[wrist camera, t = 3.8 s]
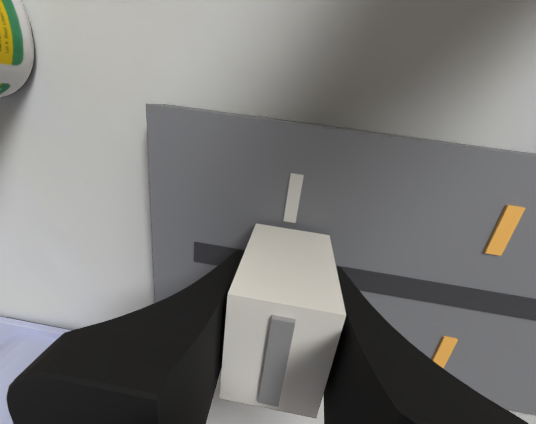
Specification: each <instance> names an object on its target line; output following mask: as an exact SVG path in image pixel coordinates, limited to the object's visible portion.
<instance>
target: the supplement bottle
mask: <svg viewBox="0 0 536 424" xmlns="http://www.w3.org/2000/svg"><path fill="white" fill-rule="evenodd" d="M33 61H34V43H33V38H32V32H31V26H30V22H29V19H28V16H27V13H26V11H25V8H24V6H23V4H22V2H21V0H0V97H4V96H7V95H10V94H12V93H14V92H16V91H17V90H18V89H19V88H21V87H22V86H23V85H24V83H25V82H26V81H27V79H28V77H29V75H30V73H31V70H32V66H33Z"/></svg>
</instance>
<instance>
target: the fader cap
mask: <svg viewBox="0 0 536 424" xmlns="http://www.w3.org/2000/svg"><path fill="white" fill-rule="evenodd" d="M345 318H346V311H345V307H344V302H343V297H342V292H341V287H340V283H339V278H338V273H337V268H336V264H335V259H334V254H333V249H332V244H331V240H330V235H325V234H319V233H313V232H307V231H300V230H294V229H288V228H282V227H275V226H269V225H263V224H257V223H256V225H255V227H254V229H253V232H252V234H251V237H250V239H249V242H248V244H247V247H246V249H245V252H244V254H243V257H242V259H241V262H240V264H239V267H238V269H237V272H236V274H235V277H234V279H233V282H232V284H231V287H230V289H229V292H228V295H227V308H226V320H225V333H224V346H223V358H222V371H221V384H220V396H219V399H224V400H229V401H234V402H239V403H244V404H249V405H253V406H258V407H263V408H268V409H273V410H278V411H283V412H287V413H292V414H297V415H302V416H307V417H312V418H316V417H317V414H318V410H319V407H320V404H321V400H322V397H323V393H324V390H325V386H326V383H327V380H328V376H329V373H330V369H331V366H332V363H333V359H334V356H335V352H336V349H337V345H338V342H339V339H340V335H341V332H342V328H343V325H344V321H345Z"/></svg>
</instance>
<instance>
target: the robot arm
mask: <svg viewBox="0 0 536 424" xmlns="http://www.w3.org/2000/svg"><path fill="white" fill-rule="evenodd" d="M244 252H245V251H241V250H236V251H235V252H234V253H232V254H231V255H230V256H229V257H228V258H226V259H225V260H224V261H223V262H222V263H220V264H219V265H218V266H217V267H215V268H214V269H213V270H211V271H210V272H209V273H207V274H206V275H205V276H203V277H202V278H200V279H199V280H197V281H196V282H194V283H193V284H191V285H190V286H188V287H186V288H185V289H183V290H181V291H179V292H177V293H175V294H173V295H172V296H170V297H168V298H165V299H163V300H161V301H159V302H156V303H154V304H152V305H150V306H147V307H145V308H143V309H140V310H137V311H135V312H132V313H129V314H127V315H124V316H121V317H118V318H115V319H112V320H108V321H105V322H102V323H98V324H94V325H91V326H87V327H83V328H80V329H76V330H67V329H62V328H57V327H52V326H47V325H42V324H36V323H31V322H26V321H21V320H16V319H11V318H6V317H1V316H0V424H206V420H207V417H208V413H209V409H210V406H211V402H212V398H213V395H214V391H215V388H216V384H217V380H218V377H219V374H220V371H221V368H222V358H223V346H224V333H225V320H226V308H227V295H228V292H229V289H230V287H231V284H232V282H233V279H234V277H235V274H236V272H237V269H238V267H239V264H240V262H241V259H242V257H243V254H244ZM336 268H337V273H338V278H339V283H340V287H341V292H342V297H343V302H344V307H345V311H346V318H345V321H344V325H343V328H342V332H341V335H340V339H339V342H338V345H337V349H336V352H335V356H334V359H333V363H332V366H331V369H330V373H329V376H328V380H327V383H326V386H325V390H324V393H323V394H324V424H528V423H527V422H525V421H524V420H522V419H521V418H519V417H517V416H516V415H514V414H512V413H511V412H509V411H507V410H506V409H504V408H503V407H501V406H499V405H498V404H496V403H494V402H493V401H491V400H489V399H488V398H486V397H485V396H483V395H481V394H480V393H478V392H477V391H475V390H474V389H472V388H471V387H469V386H468V385H466V384H465V383H463V382H462V381H460V380H459V379H457V378H456V377H455V376H453V375H452V374H450V373H449V372H447V371H446V370H445V369H443V368H442V367H441V366H439V365H438V364H437V363H435V362H434V361H433V360H431V359H430V358H429V357H428V356H426V355H425V354H424V353H422V352H421V351H420V350H419V349H417V348H416V347H415V346H414V345H413V344H411V343H410V342H409V341H408V340H407V339H406V338H405V337H403V336H402V335H401V334H400V333H399V332H398V331H397V330H396V329H395V328H394V327H392V326H391V325H390V324H389V323H388V322H387V321H386V320H385V319H384V318H383V317H382V316H381V314H380V313H379V312H378V311H377V310H376V309H375V308H374V307H373V306H372V305H371V304H370V303H369V301H368V300H367V299H366V298H365V297H364V296H363V294H362V293H361V292H360V291H359V290H358V288H357V287H356V286H355V285H354V283H353V282H352V281H351V279H350V278H349V277H348V276H347V274H346V273H345V272H344V270H343V269H342V268H341V267H337V266H336Z"/></svg>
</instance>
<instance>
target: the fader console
mask: <svg viewBox="0 0 536 424" xmlns="http://www.w3.org/2000/svg"><path fill="white" fill-rule="evenodd" d="M146 118H147V140H148V162H149V184H150V206H151V228H152V250H153V272H154V294H155V303H156V302H159V301H161V300H163V299H165V298H168V297H170V296H172V295H173V294H175V293H177V292H179V291H181V290H183V289H185V288H186V287H188V286H190V285H191V284H193V283H194V282H196V281H197V280H199V279H200V278H202V277H203V276H205V275H206V274H207V273H209V272H210V271H211V270H213V269H214V268H215V267H217V266H218V265H219V264H220V263H222V262H223V261H224V260H225V259H226V258H228V257H229V256H230V255H231V254H232V253H234V252H235V251H236V250H241V251H245V249H246V247H247V244H248V242H249V239H250V237H251V234H252V232H253V229H254V227H255V225H256V223H257V224H263V225H269V226H275V227H282V228H288V229H294V230H300V231H307V232H313V233H319V234H325V235H330V240H331V244H332V249H333V254H334V259H335V264H336V266H337V267H341V268H342V269H343V270H344V272H345V273H346V274H347V276H348V277H349V278H350V279H351V281H352V282H353V283H354V285H355V286H356V287H357V288H358V290H359V291H360V292H361V293H362V294H363V296H364V297H365V298H366V299H367V300H368V301H369V303H370V304H371V305H372V306H373V307H374V308H375V309H376V310H377V311H378V312H379V313H380V314H381V316H382V317H383V318H384V319H385V320H386V321H387V322H388V323H389V324H390V325H391V326H392V327H394V328H395V329H396V330H397V331H398V332H399V333H400V334H401V335H402V336H403V337H405V338H406V339H407V340H408V341H409V342H410V343H411V344H413V345H414V346H415V347H416V348H417V349H419V350H420V351H421V352H422V353H424V354H425V355H426V356H428V357H429V358H430V359H431V360H433V361H434V362H435V363H437V364H438V365H439V366H441V367H442V368H443V369H445V370H446V371H447V372H449V373H450V374H452V375H453V376H455V377H456V378H457V379H459V380H460V381H462V382H463V383H465V384H466V385H468V386H469V387H471V388H472V389H474V390H475V391H477V392H478V393H480V394H481V395H483V396H485V397H486V398H488V399H489V400H491V401H493V402H494V403H496V404H498V405H499V406H501V407H503V408H504V409H506V410H510V411H515V412H520V413H526V414H531V415H536V154H533V153H525V152H518V151H510V150H503V149H495V148H488V147H480V146H473V145H465V144H458V143H450V142H443V141H435V140H428V139H421V138H413V137H406V136H398V135H391V134H383V133H376V132H368V131H361V130H353V129H346V128H338V127H331V126H323V125H316V124H308V123H301V122H294V121H286V120H279V119H271V118H264V117H256V116H249V115H241V114H234V113H226V112H219V111H211V110H204V109H196V108H189V107H181V106H174V105H166V104H146Z"/></svg>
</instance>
